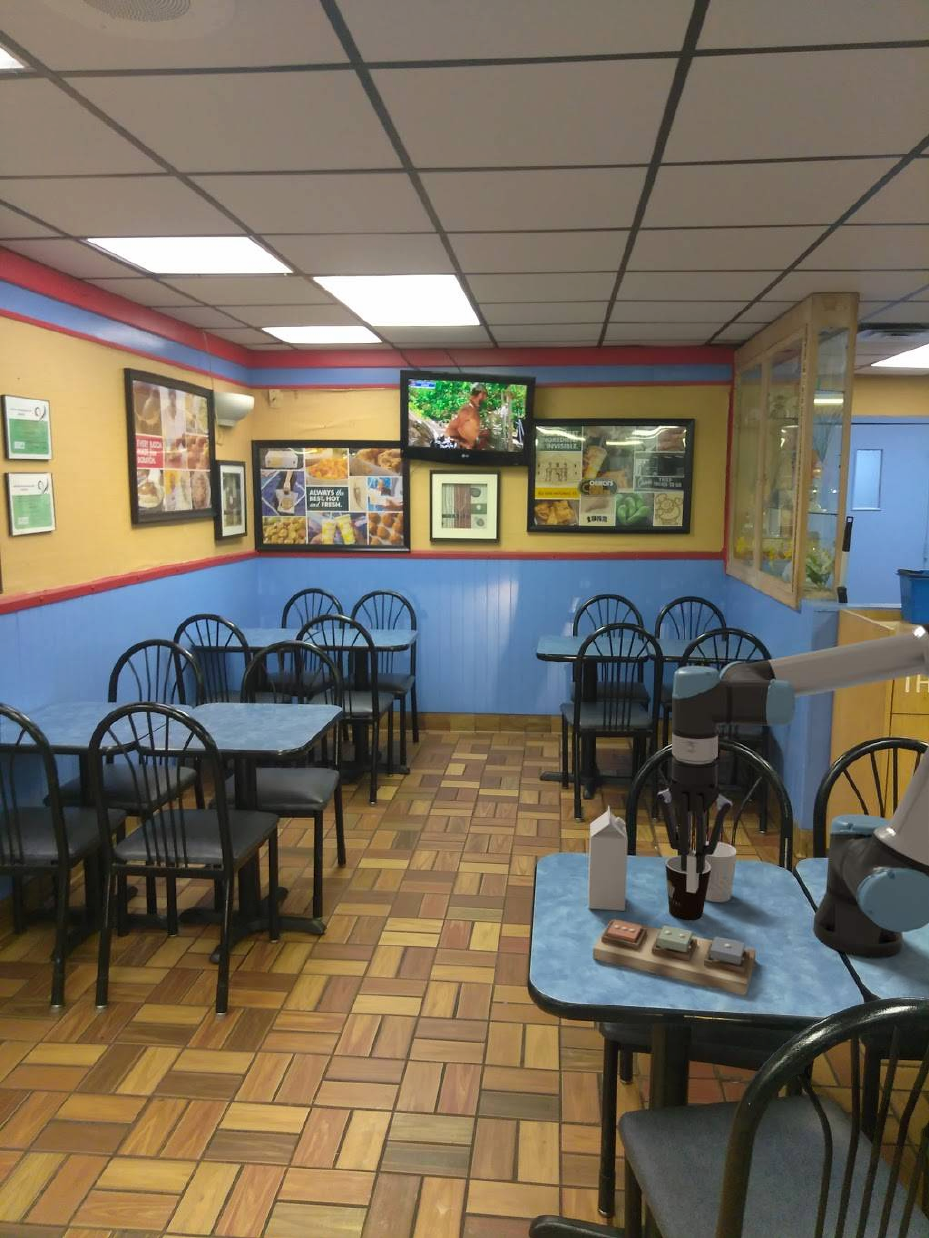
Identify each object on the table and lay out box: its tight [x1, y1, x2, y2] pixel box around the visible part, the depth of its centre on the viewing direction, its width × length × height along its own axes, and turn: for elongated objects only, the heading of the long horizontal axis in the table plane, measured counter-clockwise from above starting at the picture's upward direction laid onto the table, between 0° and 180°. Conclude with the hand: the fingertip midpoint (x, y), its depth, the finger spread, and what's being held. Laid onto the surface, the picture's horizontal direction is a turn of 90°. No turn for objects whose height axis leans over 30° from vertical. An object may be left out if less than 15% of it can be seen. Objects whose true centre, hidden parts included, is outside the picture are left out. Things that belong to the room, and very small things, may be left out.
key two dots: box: [657, 925, 693, 952], centre depth 155 cm, size 5×5×2 cm
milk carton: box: [587, 805, 629, 912], centre depth 176 cm, size 7×7×19 cm
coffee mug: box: [664, 855, 711, 922], centre depth 174 cm, size 12×9×10 cm
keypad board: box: [592, 918, 757, 996], centre depth 155 cm, size 26×12×3 cm, turn 65°
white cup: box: [705, 840, 738, 903], centre depth 180 cm, size 8×8×10 cm
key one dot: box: [710, 936, 746, 965], centre depth 151 cm, size 5×5×2 cm
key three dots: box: [607, 919, 642, 943], centre depth 159 cm, size 5×5×2 cm
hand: (692, 889), depth 153 cm, fingers closed
